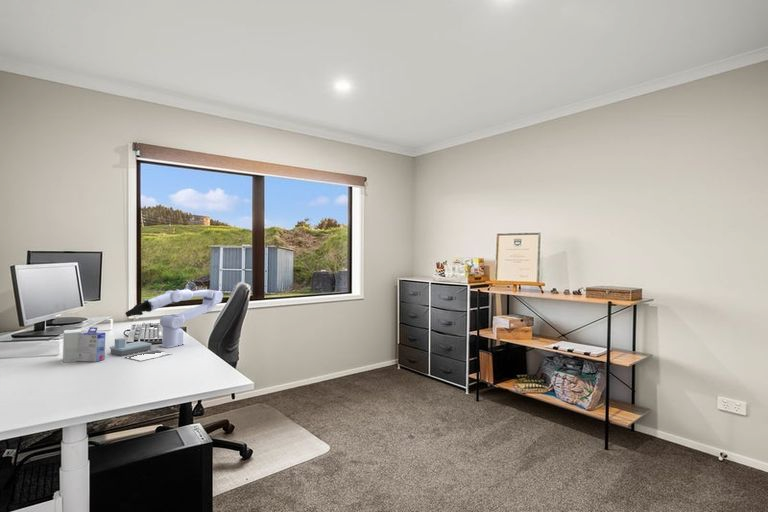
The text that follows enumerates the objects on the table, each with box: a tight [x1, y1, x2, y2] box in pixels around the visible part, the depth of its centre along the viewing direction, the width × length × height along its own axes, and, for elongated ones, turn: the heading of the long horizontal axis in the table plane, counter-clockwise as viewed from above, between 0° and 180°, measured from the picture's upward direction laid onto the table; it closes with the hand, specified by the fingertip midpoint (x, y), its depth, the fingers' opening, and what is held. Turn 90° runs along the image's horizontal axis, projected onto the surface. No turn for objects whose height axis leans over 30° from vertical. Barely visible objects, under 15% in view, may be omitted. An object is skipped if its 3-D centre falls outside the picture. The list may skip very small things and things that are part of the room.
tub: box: [110, 345, 152, 357], centre depth 199 cm, size 14×9×2 cm, turn 153°
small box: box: [62, 328, 83, 364], centre depth 182 cm, size 8×6×13 cm
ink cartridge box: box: [75, 326, 106, 362], centre depth 182 cm, size 10×6×14 cm, turn 88°
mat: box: [124, 349, 165, 359], centre depth 192 cm, size 16×12×1 cm
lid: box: [109, 337, 153, 351], centre depth 199 cm, size 15×10×5 cm, turn 153°
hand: (130, 313), depth 194 cm, fingers open, 7 cm apart
